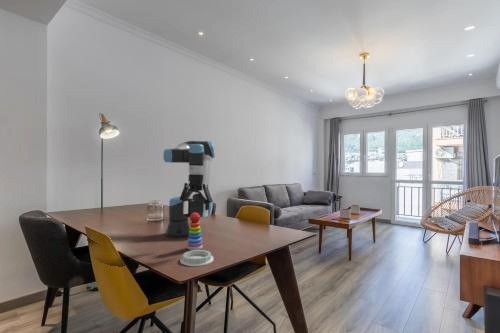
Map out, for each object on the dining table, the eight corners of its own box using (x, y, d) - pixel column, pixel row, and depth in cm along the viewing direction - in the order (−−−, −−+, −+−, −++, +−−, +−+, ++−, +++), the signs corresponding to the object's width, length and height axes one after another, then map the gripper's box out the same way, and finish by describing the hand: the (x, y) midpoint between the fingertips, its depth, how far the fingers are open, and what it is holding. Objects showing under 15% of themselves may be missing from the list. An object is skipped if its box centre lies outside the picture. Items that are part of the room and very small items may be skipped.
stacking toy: (188, 246, 141) (188, 211, 140) (203, 246, 141) (204, 211, 141) (186, 251, 133) (186, 213, 133) (202, 250, 133) (202, 213, 133)
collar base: (172, 261, 118) (172, 256, 118) (195, 252, 131) (195, 247, 131) (198, 268, 110) (198, 262, 110) (220, 258, 123) (220, 252, 123)
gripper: (173, 173, 140) (172, 213, 140) (210, 174, 127) (209, 218, 127) (183, 173, 146) (182, 211, 146) (219, 174, 134) (219, 216, 134)
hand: (195, 215), depth 137 cm, fingers open, 13 cm apart
